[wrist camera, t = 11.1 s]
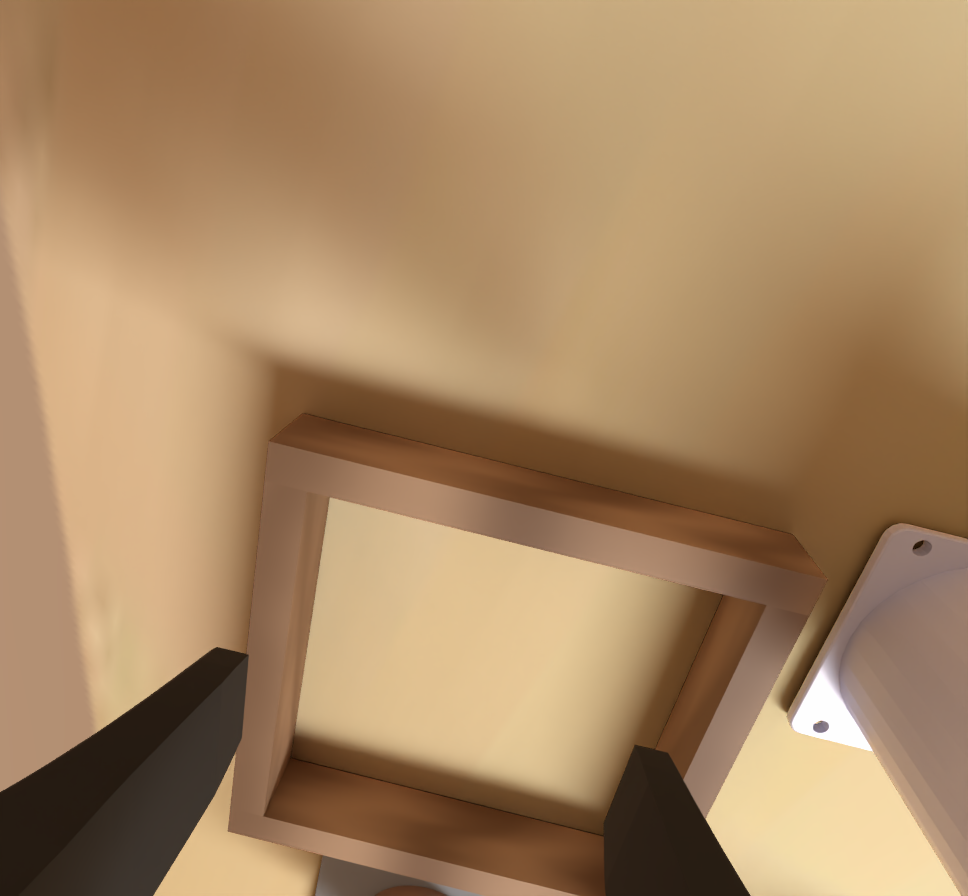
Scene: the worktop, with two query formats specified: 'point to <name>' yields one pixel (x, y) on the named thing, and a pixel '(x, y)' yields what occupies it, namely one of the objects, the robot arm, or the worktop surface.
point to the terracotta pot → (409, 891)
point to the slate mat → (368, 880)
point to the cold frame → (523, 520)
